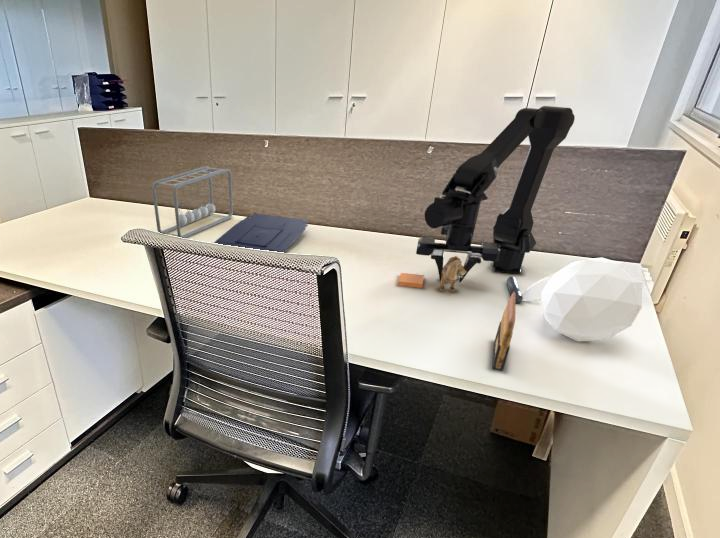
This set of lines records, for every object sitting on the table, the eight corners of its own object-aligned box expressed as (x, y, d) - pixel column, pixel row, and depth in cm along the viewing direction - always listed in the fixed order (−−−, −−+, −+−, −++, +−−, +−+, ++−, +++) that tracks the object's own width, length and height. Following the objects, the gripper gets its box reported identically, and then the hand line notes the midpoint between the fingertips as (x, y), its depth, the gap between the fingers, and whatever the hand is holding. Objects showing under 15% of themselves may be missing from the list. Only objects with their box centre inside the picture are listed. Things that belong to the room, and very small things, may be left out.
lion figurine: (461, 298, 119) (469, 264, 114) (438, 296, 121) (445, 262, 116) (457, 275, 131) (465, 243, 126) (436, 273, 132) (443, 241, 127)
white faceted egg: (630, 261, 85) (615, 217, 106) (497, 309, 100) (506, 262, 120) (665, 338, 88) (644, 281, 109) (531, 374, 103) (534, 317, 124)
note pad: (423, 279, 130) (424, 274, 129) (422, 288, 125) (422, 283, 124) (399, 276, 132) (400, 272, 131) (397, 285, 127) (398, 281, 126)
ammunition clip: (493, 342, 102) (509, 290, 95) (503, 344, 101) (519, 291, 95) (491, 368, 94) (508, 313, 87) (502, 371, 93) (519, 315, 87)
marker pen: (508, 284, 126) (516, 279, 125) (515, 305, 116) (524, 300, 115) (504, 278, 126) (512, 273, 125) (510, 299, 116) (519, 294, 115)
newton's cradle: (212, 213, 188) (208, 164, 178) (233, 217, 182) (231, 167, 173) (157, 235, 168) (150, 182, 158) (179, 240, 162) (174, 185, 153)
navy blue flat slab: (314, 228, 164) (314, 218, 161) (275, 270, 144) (275, 258, 142) (250, 220, 174) (250, 210, 172) (206, 257, 155) (205, 247, 152)
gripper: (503, 213, 119) (488, 272, 128) (423, 208, 125) (414, 265, 134) (507, 227, 111) (490, 290, 119) (421, 221, 117) (411, 281, 125)
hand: (450, 281), depth 125 cm, fingers open, 4 cm apart
